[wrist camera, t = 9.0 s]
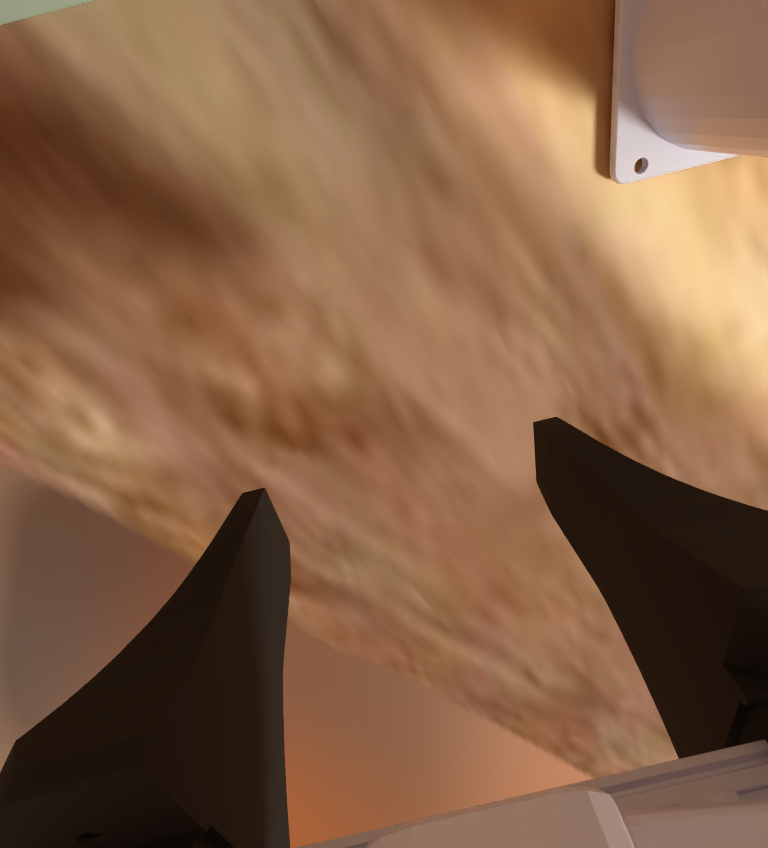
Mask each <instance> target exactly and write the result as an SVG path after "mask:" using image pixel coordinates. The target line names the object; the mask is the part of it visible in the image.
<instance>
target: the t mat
mask: <svg viewBox="0 0 768 848" xmlns="http://www.w3.org/2000/svg"><path fill="white" fill-rule="evenodd" d="M91 1H95V0H0V25H3V24H7V23H11V22H15V21H19V20H23V19H26V18H30V17H34V16H38V15H42V14H45V13H49V12H53V11H57V10H61V9H65V8H68V7H72V6H76V5H80V4H84V3H88V2H91Z"/></svg>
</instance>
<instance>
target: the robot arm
mask: <svg viewBox="0 0 768 848" xmlns="http://www.w3.org/2000/svg"><path fill="white" fill-rule="evenodd" d="M740 155H745V156H756V157H766V158H768V0H616V3H615V31H614V59H613V87H612V115H611V143H610V171H609V172H610V177H611V179H612V180H613V181H614V182H616V183H619V184H628V183H632V182H636V181H640V180H644V179H648V178H652V177H656V176H660V175H664V174H668V173H672V172H676V171H680V170H684V169H688V168H692V167H696V166H700V165H704V164H708V163H712V162H716V161H720V160H724V159H728V158H732V157H736V156H740ZM640 158H641V159H642V167H641V168H640V170H639V171H637V172H635V170H634V166H635V163H636V162H637V160H638V159H640ZM533 426H534V444H535V463H536V481H537V484H538V486H539V488H540V491H541V493H542V495H543V497H544V499H545V502H546V504H547V506H548V508H549V510H550V512H551V514H552V516H553V517H554V519H555V520H556V522H557V524H558V525H559V527H560V528H561V530H562V532H563V533H564V535H565V536H566V538H567V539H568V541H569V543H570V544H571V546H572V547H573V549H574V550H575V552H576V553H577V555H578V557H579V558H580V560H581V561H582V563H583V564H584V566H585V568H586V569H587V571H588V572H589V574H590V575H591V577H592V578H593V580H594V582H595V583H596V585H597V587H598V588H599V590H600V592H601V593H602V595H603V597H604V599H605V601H606V603H607V605H608V607H609V609H610V611H611V613H612V615H613V617H614V619H615V620H616V622H617V624H618V626H619V628H620V630H621V632H622V634H623V637H624V639H625V641H626V643H627V645H628V647H629V649H630V651H631V653H632V655H633V657H634V659H635V661H636V664H637V666H638V668H639V670H640V672H641V674H642V676H643V679H644V681H645V683H646V685H647V687H648V689H649V692H650V694H651V696H652V698H653V700H654V703H655V705H656V707H657V709H658V711H659V714H660V716H661V718H662V720H663V723H664V725H665V727H666V730H667V732H668V734H669V737H670V739H671V741H672V744H673V746H674V748H675V751H676V753H677V755H678V758H679V759H677V760H673V761H669V762H664V763H660V764H656V765H651V766H647V767H643V768H638V769H634V770H630V771H625V772H621V773H617V774H612V775H608V776H604V777H599V778H595V779H591V780H586V781H583V782H578V783H574V784H569V785H565V786H561V787H556V788H552V789H548V790H543V791H539V792H535V793H531V794H526V795H522V796H517V797H513V798H509V799H504V800H500V801H496V802H491V803H487V804H483V805H478V806H474V807H470V808H465V809H461V810H457V811H452V812H448V813H444V814H440V815H435V816H431V817H427V818H422V819H418V820H414V821H409V822H405V823H400V824H396V825H392V826H388V827H383V828H379V829H375V830H370V831H366V832H362V833H357V834H353V835H349V836H344V837H340V838H336V839H332V840H327V841H323V842H319V843H314V844H310V845H306V846H301V847H297V848H768V511H767V510H763V509H760V508H756V507H752V506H749V505H746V504H743V503H740V502H736V501H733V500H730V499H727V498H724V497H721V496H718V495H715V494H712V493H709V492H706V491H704V490H701V489H698V488H696V487H693V486H691V485H688V484H686V483H683V482H680V481H678V480H675V479H673V478H671V477H668V476H666V475H664V474H661V473H659V472H657V471H655V470H653V469H651V468H649V467H647V466H645V465H642V464H640V463H638V462H636V461H634V460H632V459H630V458H628V457H626V456H624V455H623V454H621V453H619V452H617V451H615V450H613V449H611V448H610V447H608V446H606V445H604V444H602V443H601V442H599V441H597V440H595V439H594V438H592V437H590V436H589V435H587V434H585V433H583V432H582V431H580V430H578V429H577V428H575V427H573V426H572V425H570V424H568V423H567V422H565V421H563V420H561V419H560V418H558V417H553V418H549V419H545V420H541V421H537V422H533ZM290 582H291V564H290V544H289V540H288V537H287V535H286V533H285V531H284V529H283V526H282V524H281V522H280V520H279V518H278V515H277V513H276V511H275V509H274V507H273V504H272V502H271V500H270V498H269V496H268V493H267V491H266V489H265V488H261V489H257V490H253V491H249V492H245V493H242V495H241V496H240V498H239V499H238V501H237V502H236V504H235V505H234V507H233V509H232V510H231V512H230V513H229V515H228V517H227V518H226V520H225V521H224V523H223V524H222V526H221V528H220V529H219V531H218V532H217V534H216V535H215V537H214V539H213V540H212V542H211V543H210V545H209V546H208V548H207V549H206V551H205V552H204V554H203V555H202V556H201V558H200V559H199V561H198V562H197V563H196V565H195V566H194V568H193V569H192V570H191V572H190V573H189V574H188V576H187V577H186V579H185V580H184V581H183V583H182V584H181V585H180V587H179V588H178V589H177V591H176V592H175V593H174V594H173V596H172V597H171V598H170V599H169V600H168V601H167V603H166V604H165V605H164V606H163V607H162V608H161V610H160V611H159V612H158V613H157V614H156V615H155V617H154V618H153V619H152V620H151V621H150V622H149V623H148V624H147V625H146V626H145V627H144V628H143V629H142V631H141V632H140V633H139V634H138V635H137V636H136V637H135V638H134V639H133V640H132V641H131V642H130V643H129V644H128V645H127V646H126V647H125V648H124V649H123V650H122V651H121V652H120V653H119V654H118V655H117V656H116V657H115V658H114V659H113V660H112V661H111V662H110V663H109V664H108V665H107V666H105V667H104V668H103V669H102V670H101V671H100V672H99V673H98V674H97V675H96V676H95V677H94V678H92V679H91V680H90V681H89V682H88V683H87V684H85V685H84V686H83V687H82V688H81V689H80V690H79V691H78V692H76V693H75V694H74V695H73V696H72V697H70V698H69V699H68V700H67V701H66V702H65V703H63V704H62V705H61V706H60V707H58V708H57V709H56V710H54V711H53V712H52V713H51V714H49V715H48V716H47V717H46V718H44V719H43V720H42V721H41V722H40V723H38V724H37V725H36V726H34V727H33V728H32V729H31V730H29V731H28V732H27V733H26V734H24V735H23V736H22V737H21V738H19V739H18V740H16V742H15V743H14V745H13V747H12V749H11V751H10V754H9V756H8V758H7V760H6V762H5V764H4V766H3V768H2V770H1V772H0V848H290V839H289V826H288V813H287V812H288V811H287V794H286V775H285V755H284V725H283V723H284V721H283V661H284V648H285V637H286V627H287V616H288V605H289V594H290Z"/></svg>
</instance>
